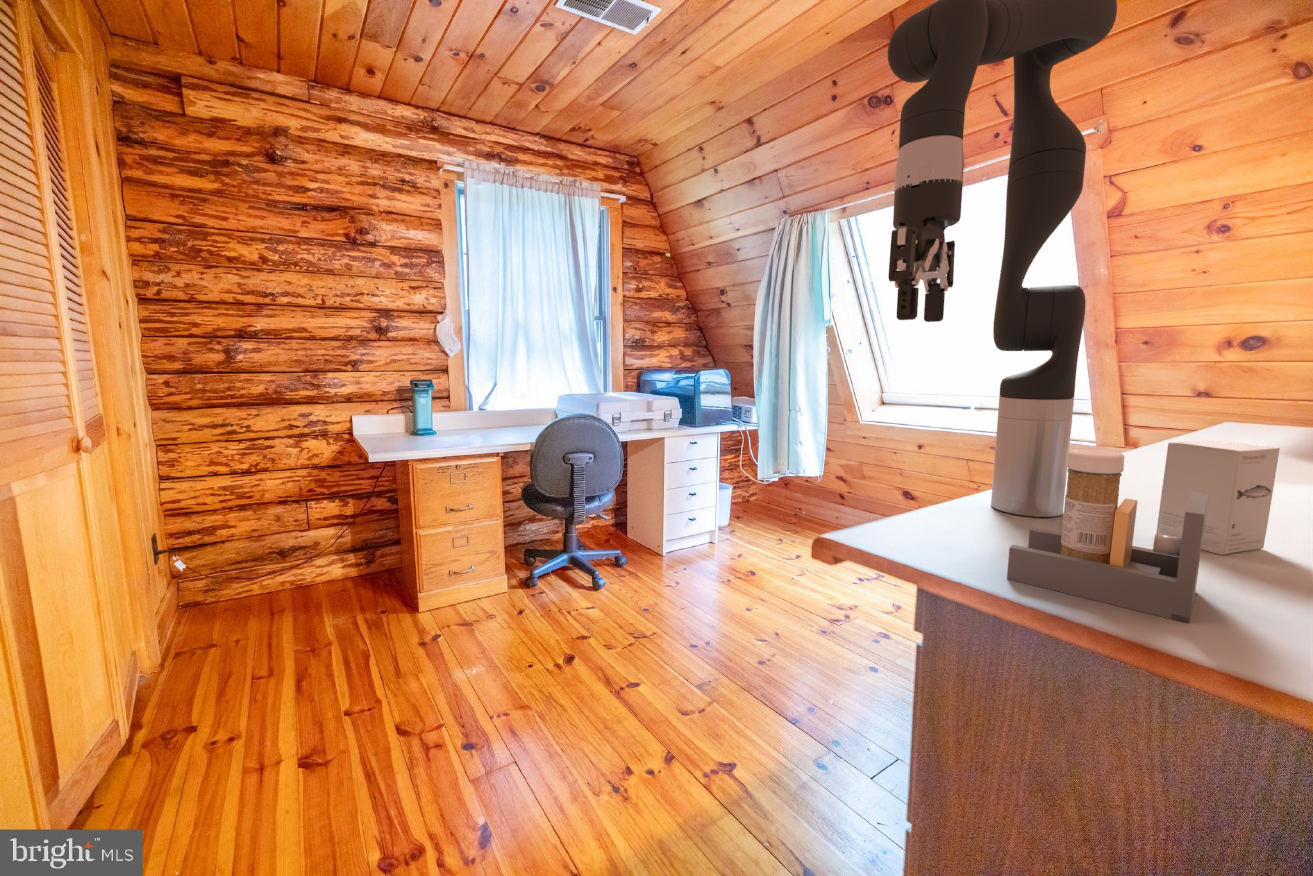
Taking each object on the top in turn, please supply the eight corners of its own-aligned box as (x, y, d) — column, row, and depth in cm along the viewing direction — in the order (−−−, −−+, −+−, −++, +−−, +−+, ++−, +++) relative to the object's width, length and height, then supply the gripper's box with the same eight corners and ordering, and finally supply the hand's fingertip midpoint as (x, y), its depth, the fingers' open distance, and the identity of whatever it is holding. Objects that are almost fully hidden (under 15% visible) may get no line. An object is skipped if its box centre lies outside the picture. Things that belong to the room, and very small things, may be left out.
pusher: (1116, 571, 59) (1125, 498, 58) (1159, 580, 56) (1169, 504, 55) (1106, 589, 55) (1115, 510, 53) (1152, 600, 52) (1162, 518, 51)
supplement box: (1224, 556, 65) (1239, 450, 63) (1153, 537, 72) (1165, 441, 70) (1267, 550, 67) (1283, 446, 65) (1193, 531, 74) (1206, 438, 72)
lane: (1029, 555, 66) (1037, 473, 64) (1195, 591, 56) (1208, 494, 54) (1006, 578, 59) (1014, 487, 58) (1189, 623, 49) (1204, 514, 48)
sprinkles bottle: (1114, 576, 58) (1127, 450, 56) (1107, 589, 55) (1122, 456, 53) (1061, 565, 62) (1072, 445, 60) (1052, 576, 58) (1064, 451, 56)
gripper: (919, 202, 75) (912, 323, 78) (871, 181, 66) (865, 320, 68) (980, 190, 70) (971, 321, 72) (938, 164, 60) (929, 317, 63)
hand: (920, 320), depth 70 cm, fingers open, 8 cm apart
